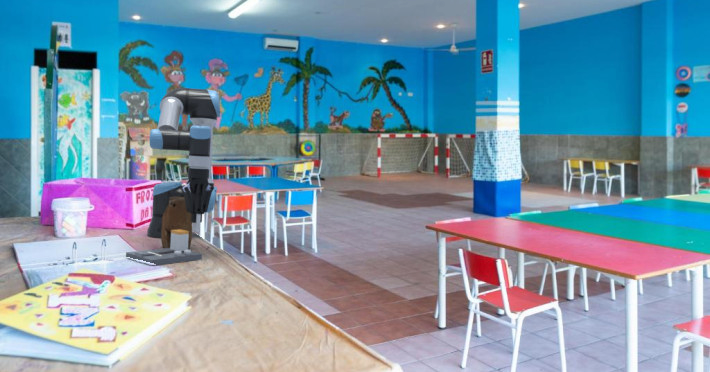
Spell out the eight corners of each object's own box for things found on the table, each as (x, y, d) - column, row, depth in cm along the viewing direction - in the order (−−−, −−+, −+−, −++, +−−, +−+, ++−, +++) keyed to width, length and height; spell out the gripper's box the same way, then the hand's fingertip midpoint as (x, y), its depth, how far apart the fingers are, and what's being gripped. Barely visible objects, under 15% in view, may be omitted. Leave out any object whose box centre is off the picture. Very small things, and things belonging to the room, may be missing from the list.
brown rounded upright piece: (187, 245, 235) (189, 196, 234) (192, 249, 229) (194, 198, 227) (159, 246, 229) (161, 196, 228) (164, 250, 223) (166, 198, 222)
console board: (175, 252, 221) (175, 242, 221) (201, 259, 211) (201, 249, 211) (125, 258, 205) (125, 247, 205) (151, 266, 195) (151, 255, 195)
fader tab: (179, 248, 216) (180, 229, 215) (187, 250, 213) (188, 231, 212) (170, 249, 213) (171, 230, 212) (178, 251, 209) (179, 232, 209)
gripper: (207, 167, 223) (204, 229, 225) (177, 166, 213) (174, 231, 214) (219, 168, 219) (216, 231, 220) (190, 168, 209) (187, 234, 210)
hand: (196, 231), depth 217 cm, fingers closed
